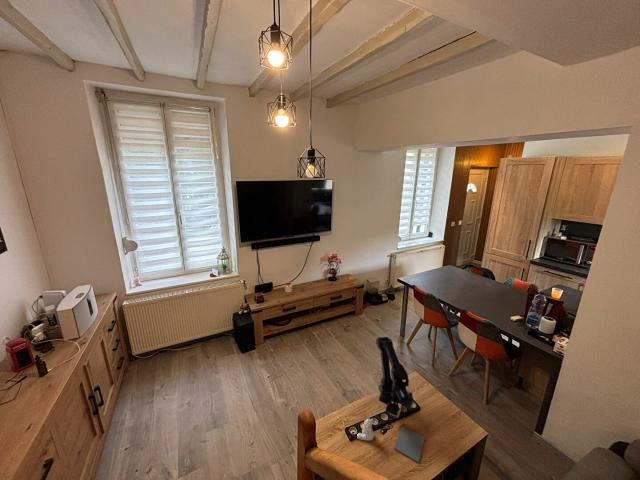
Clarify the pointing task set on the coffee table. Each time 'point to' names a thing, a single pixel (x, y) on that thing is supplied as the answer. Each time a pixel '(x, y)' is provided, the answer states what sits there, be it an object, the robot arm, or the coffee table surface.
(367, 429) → the white creature statuette
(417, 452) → the charcoal mat
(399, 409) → the terracotta cube
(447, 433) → the coffee table surface
